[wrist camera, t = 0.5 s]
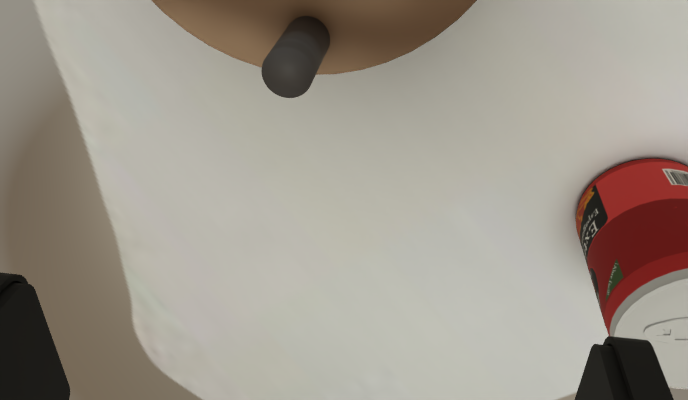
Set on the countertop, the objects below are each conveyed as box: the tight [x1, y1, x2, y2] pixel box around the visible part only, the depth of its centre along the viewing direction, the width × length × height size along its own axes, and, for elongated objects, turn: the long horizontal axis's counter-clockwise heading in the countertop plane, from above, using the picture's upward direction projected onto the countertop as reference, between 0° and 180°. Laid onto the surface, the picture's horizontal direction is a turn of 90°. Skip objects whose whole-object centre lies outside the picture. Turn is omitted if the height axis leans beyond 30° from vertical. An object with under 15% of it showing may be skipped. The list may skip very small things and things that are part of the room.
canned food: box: [576, 159, 688, 389], centre depth 33 cm, size 8×8×11 cm
